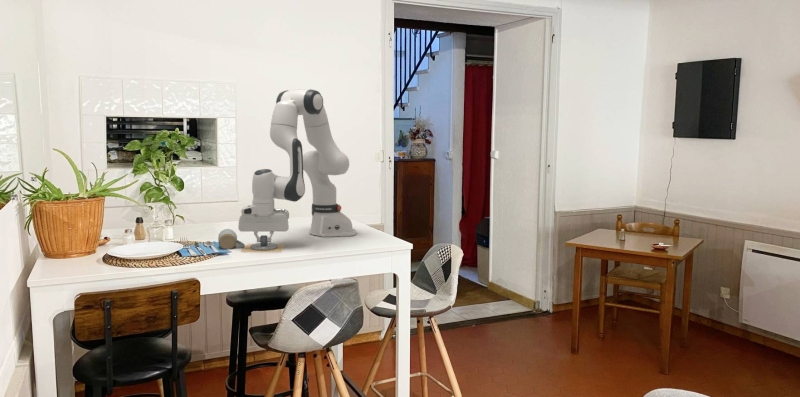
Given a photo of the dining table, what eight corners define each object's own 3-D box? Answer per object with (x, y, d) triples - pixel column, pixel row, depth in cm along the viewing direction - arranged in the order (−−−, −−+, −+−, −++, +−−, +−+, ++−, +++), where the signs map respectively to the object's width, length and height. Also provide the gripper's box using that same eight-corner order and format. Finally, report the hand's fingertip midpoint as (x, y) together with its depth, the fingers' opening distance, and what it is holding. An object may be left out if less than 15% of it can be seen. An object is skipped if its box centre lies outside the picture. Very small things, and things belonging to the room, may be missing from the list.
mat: (285, 245, 264) (285, 243, 264) (281, 253, 248) (281, 252, 248) (247, 245, 262) (247, 243, 262) (240, 253, 246) (240, 252, 246)
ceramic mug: (218, 251, 250) (218, 232, 249) (218, 246, 258) (218, 228, 257) (245, 250, 253) (245, 232, 252) (244, 246, 261) (244, 228, 260)
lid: (278, 244, 261) (278, 233, 260) (276, 250, 250) (276, 238, 250) (252, 244, 260) (252, 233, 259) (248, 250, 249) (248, 238, 248)
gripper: (289, 207, 257) (290, 240, 259) (239, 207, 255) (240, 240, 257) (288, 210, 251) (288, 243, 253) (237, 210, 249) (238, 243, 251)
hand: (264, 241), depth 255 cm, fingers closed on lid, 3 cm apart
